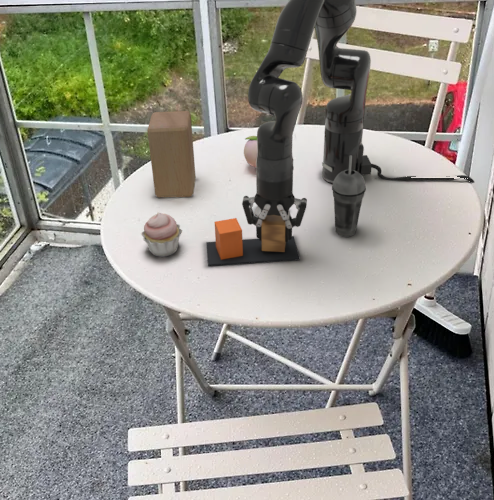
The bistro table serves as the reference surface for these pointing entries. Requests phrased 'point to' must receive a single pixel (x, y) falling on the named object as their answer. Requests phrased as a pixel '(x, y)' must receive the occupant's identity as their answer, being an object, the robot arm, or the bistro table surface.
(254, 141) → the decorative fruit
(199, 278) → the bistro table surface
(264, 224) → the oak block
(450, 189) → the bistro table surface
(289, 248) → the mat
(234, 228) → the orange block
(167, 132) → the wooden block
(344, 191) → the beverage cup
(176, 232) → the cupcake
